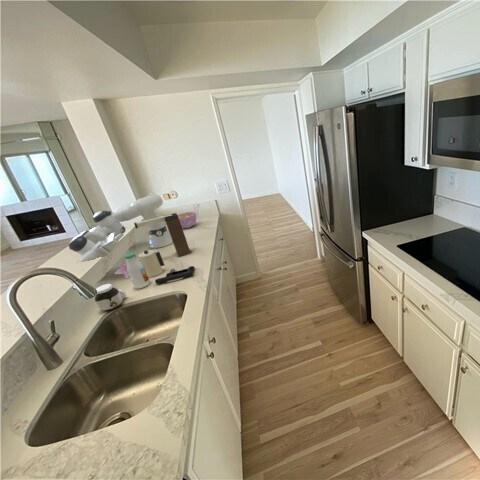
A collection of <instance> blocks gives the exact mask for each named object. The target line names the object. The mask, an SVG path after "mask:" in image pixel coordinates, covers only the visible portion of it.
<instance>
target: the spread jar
mask: <svg viewBox="0 0 480 480" xmlns="http://www.w3.org/2000/svg"><path fill="white" fill-rule="evenodd" d="M95 289H96V290H97V295H96V294H95V295H96V296H95V295H94V302H95V304H96V306H97V308H98V309H99V310H100V311H102V312H110V311H114V310H116V309H118V308H119V307H120V306H121V305H122V303H123V299H125V298H126V296H127V291H126V290H124V289H120V288H117V287H115V286H113V285H112V284H111V283H106V284H102V285H99V286H97V287H96V288H95Z"/></svg>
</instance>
